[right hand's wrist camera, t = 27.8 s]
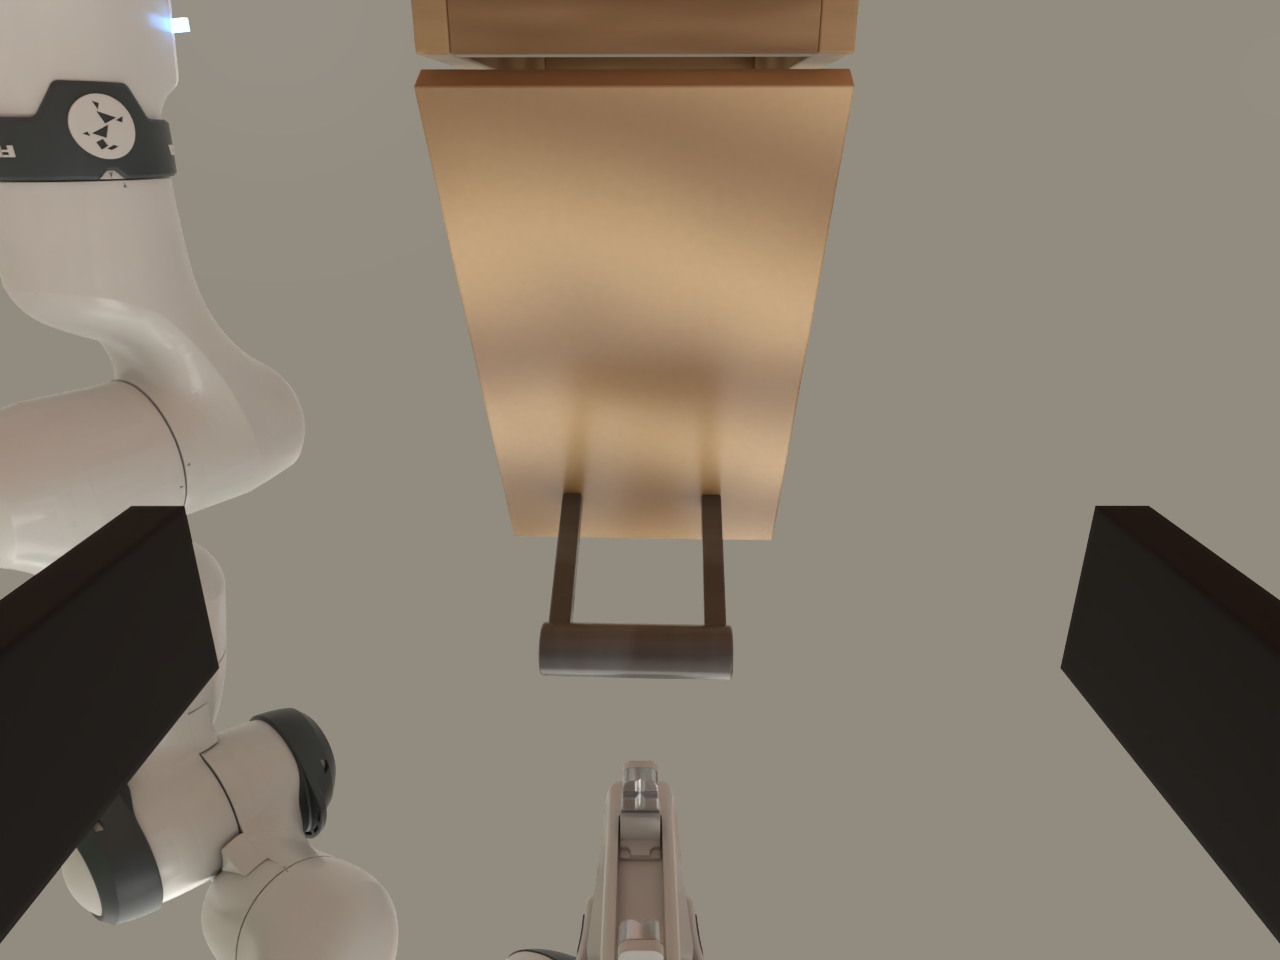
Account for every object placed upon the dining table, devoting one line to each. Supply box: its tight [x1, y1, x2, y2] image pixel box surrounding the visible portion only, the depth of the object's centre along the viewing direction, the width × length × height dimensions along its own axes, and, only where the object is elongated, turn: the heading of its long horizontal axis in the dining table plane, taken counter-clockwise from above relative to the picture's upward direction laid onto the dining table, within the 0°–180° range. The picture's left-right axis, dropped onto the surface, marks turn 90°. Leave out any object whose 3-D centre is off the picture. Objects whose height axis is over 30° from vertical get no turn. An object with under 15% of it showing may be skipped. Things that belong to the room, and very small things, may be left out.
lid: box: [414, 69, 854, 680], centre depth 24 cm, size 18×10×8 cm
